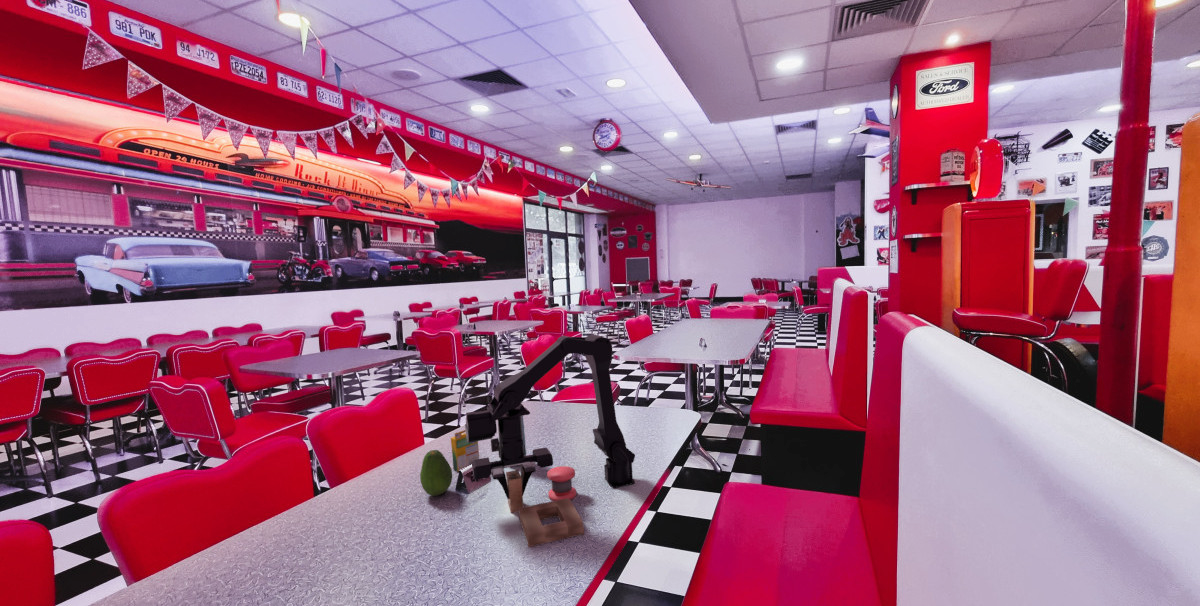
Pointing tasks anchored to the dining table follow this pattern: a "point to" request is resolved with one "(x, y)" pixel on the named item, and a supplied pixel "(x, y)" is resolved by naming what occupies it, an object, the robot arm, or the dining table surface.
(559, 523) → the board with rectangular hole
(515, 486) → the reddish brown block
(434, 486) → the avocado
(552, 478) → the spool
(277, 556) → the dining table surface
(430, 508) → the dining table surface
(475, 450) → the crayon box
